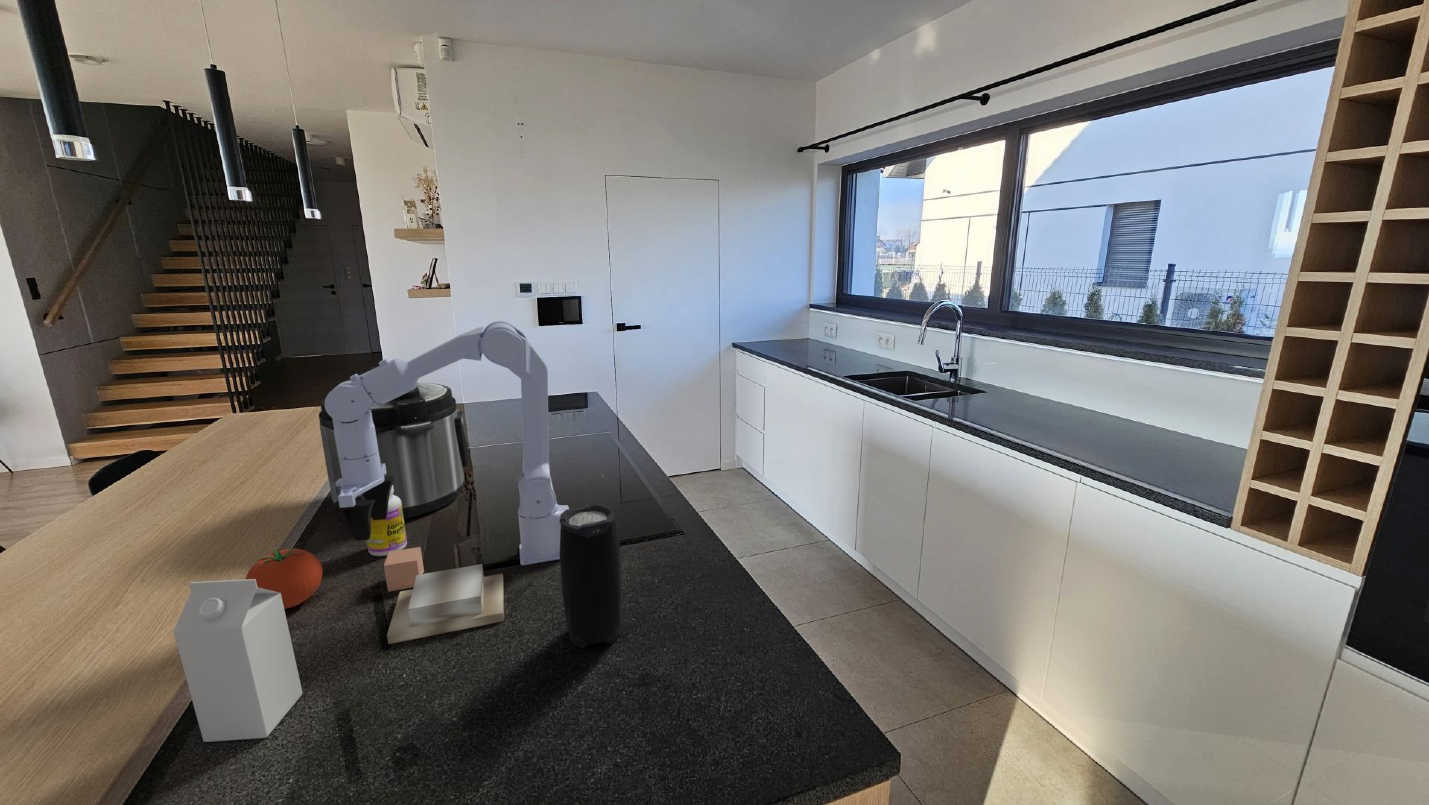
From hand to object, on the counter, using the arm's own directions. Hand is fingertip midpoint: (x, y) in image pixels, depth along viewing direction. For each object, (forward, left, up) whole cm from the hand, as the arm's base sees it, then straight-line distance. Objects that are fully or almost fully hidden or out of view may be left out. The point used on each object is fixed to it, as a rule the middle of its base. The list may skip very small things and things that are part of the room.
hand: (371, 528), depth 99 cm
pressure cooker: (+1, -37, -10) cm, 39 cm away
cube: (-4, +2, -10) cm, 11 cm away
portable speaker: (-33, +28, -10) cm, 45 cm away
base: (-12, +14, -10) cm, 21 cm away
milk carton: (+9, +30, -10) cm, 33 cm away
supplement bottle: (+1, -12, -10) cm, 16 cm away
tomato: (+13, +3, -10) cm, 16 cm away
